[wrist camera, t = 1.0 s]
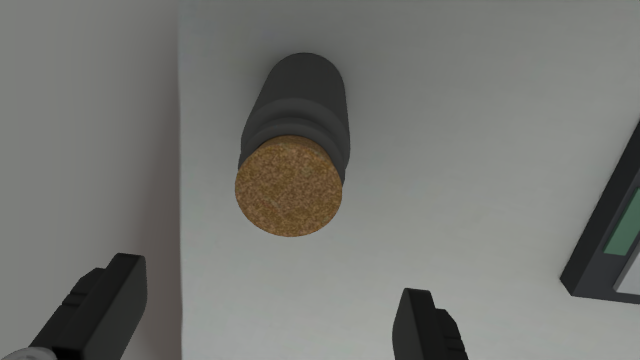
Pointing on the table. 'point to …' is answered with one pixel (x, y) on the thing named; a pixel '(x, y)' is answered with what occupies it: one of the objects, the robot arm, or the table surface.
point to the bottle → (295, 148)
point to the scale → (611, 238)
